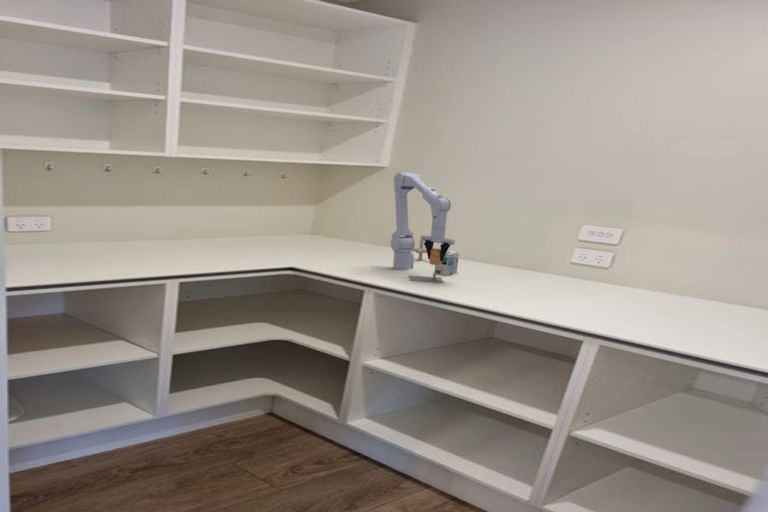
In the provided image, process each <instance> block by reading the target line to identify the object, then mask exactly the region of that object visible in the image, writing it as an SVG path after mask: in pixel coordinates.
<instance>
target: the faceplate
mask: <svg viewBox="0 0 768 512" xmlns="http://www.w3.org/2000/svg"><path fill="white" fill-rule="evenodd" d="M408 278H409V281H410V282H422V283H436V284H437V283H439V284H445V281H444V280H443V278H442V277H439V276H437V274H435V273H433V274H432V276H426V275H423V276H422V275H411V274H410V275H408Z"/></svg>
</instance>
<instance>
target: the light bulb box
mask: <svg viewBox="0 0 768 512" xmlns="http://www.w3.org/2000/svg"><path fill="white" fill-rule="evenodd" d="M459 256H460V252H459V251H454V250H451V249H450V250H449V249H448V250H447V252H446V254H445V257H444V261H442V264H441V265H434V273H433V274H436V275H441V276H444V277H445V276H446V277H448V276H451V275H455V274H456V273H458V266H459Z"/></svg>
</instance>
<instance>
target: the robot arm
mask: <svg viewBox="0 0 768 512" xmlns="http://www.w3.org/2000/svg"><path fill="white" fill-rule="evenodd" d="M393 186H394V187H393V190H394V201H395V219H396V220H395V221H396V222H395V223H396V224H395V225H396V230H395V231H394V232H393V233H392V234H391V241H390V246H391V247H390V248H391V249H392V251H393V262H392V263H393V265H392V268H393V269H395V270H400V271H407V270H409V269H414V263H415V262H414V261H415V260H414V259H415V255H414V253H413V251H412V249H413V248H415V246H416V243H415V242H416V241H415V238H414V233H413V232H412V231H411V230H410V227H409V213H408V212H409V211H408V209H409V208H408V194H409V193H410V192H411V191H413V190H414V189H416V190H417V191H418V192H420V193H421V194H422V195H421V196H422V198H423V200H424V201H425V202H427V203H428V205H430V210H431V216H432V217H431V219H432V221H431V229H430V230H431V232H430V235H420V240H421V241H424V243H423V246H424V247H425V248H426V250H427V253H426V254H427V260H429V259H430V252H431V249H434V244H435V243H439V244H440V249H441V256H440V261H444V257H445V254H446V252H447V250H449V249H450V247H451V246H454V245H455V244H456V240H455V239H451V238H447V237H446V227H447V226H446V225H447V215H448V212H449V211H450V209H451V206H452V204H451V200H450V198H448V197H442V195H441V194H440V193H439V192H437V191H436V188H435V187H428V186H427V185H426V183H424V182H423V180H422V179H421V175H419V174H418V172H403V171H398V172H396V174H395V175H394V177H393ZM445 237H446V238H445ZM420 240H419V241H420Z"/></svg>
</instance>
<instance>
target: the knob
mask: <svg viewBox="0 0 768 512" xmlns="http://www.w3.org/2000/svg"><path fill="white" fill-rule="evenodd" d="M440 256H441V248H433V249H431V252H430V259H428V260H429V262H428V263H429V264H430V265H431V266H432V265H433V266H435V265H441V264H442V261H440Z"/></svg>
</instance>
